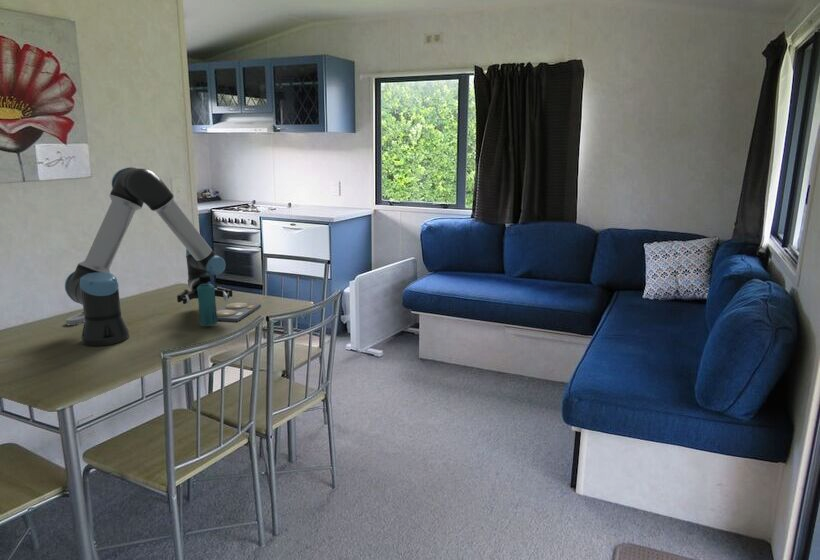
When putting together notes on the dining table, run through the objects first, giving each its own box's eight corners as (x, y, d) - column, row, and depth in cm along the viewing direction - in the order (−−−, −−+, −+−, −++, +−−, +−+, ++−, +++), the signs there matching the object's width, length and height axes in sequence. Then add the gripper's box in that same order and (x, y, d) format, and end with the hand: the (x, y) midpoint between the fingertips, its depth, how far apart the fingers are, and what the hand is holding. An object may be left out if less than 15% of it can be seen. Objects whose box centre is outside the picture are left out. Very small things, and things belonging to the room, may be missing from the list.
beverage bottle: (214, 329, 224) (210, 277, 219) (197, 329, 224) (192, 277, 220) (220, 324, 230) (216, 273, 226) (203, 324, 230) (199, 273, 226)
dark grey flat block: (238, 321, 234) (237, 317, 233) (204, 319, 236) (204, 316, 235) (261, 306, 255) (260, 302, 254) (230, 305, 257) (230, 301, 257)
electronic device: (59, 302, 227) (88, 291, 241) (63, 326, 230) (91, 314, 244) (71, 303, 226) (99, 292, 240) (75, 327, 228) (103, 315, 243)
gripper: (233, 294, 247) (242, 306, 228) (168, 300, 237) (173, 314, 218) (232, 276, 245) (241, 287, 227) (167, 282, 235) (171, 294, 216)
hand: (208, 300), depth 222 cm, fingers open, 13 cm apart
